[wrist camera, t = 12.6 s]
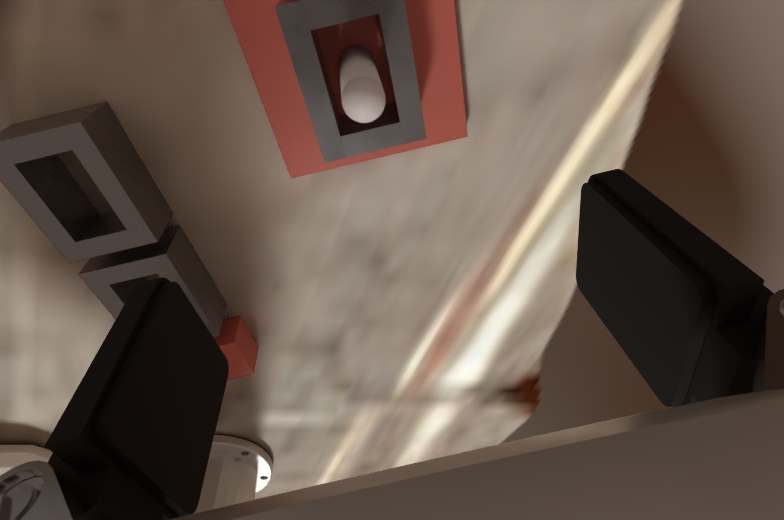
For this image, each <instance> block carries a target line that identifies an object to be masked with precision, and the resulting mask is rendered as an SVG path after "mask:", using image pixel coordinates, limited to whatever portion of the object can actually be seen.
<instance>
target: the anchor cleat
mask: <svg viewBox="0 0 784 520" xmlns="http://www.w3.org/2000/svg"><path fill="white" fill-rule="evenodd" d="M213 338H214V339H215V341H216V343H217V344H218V346H219V347H220V349H221V350H222V352H223V353H224V355H225V356H226V358H227V361H228V365H229V373H228V378H227V380H229V379H233V378H238V377H242V376H247V375H251V374H254V369H255V364H256V358H257V352H258V346H257V344H256V342H255V341H254V339H253V337H252V336H251V334H250V332H249V330H248V329H247V327H246V325H245V323H244V322H243V320H242V318H241V317H236V318H231V319H227V320H223V322H222V326H221V329H220V333H219V336H216V337H213Z"/></svg>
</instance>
